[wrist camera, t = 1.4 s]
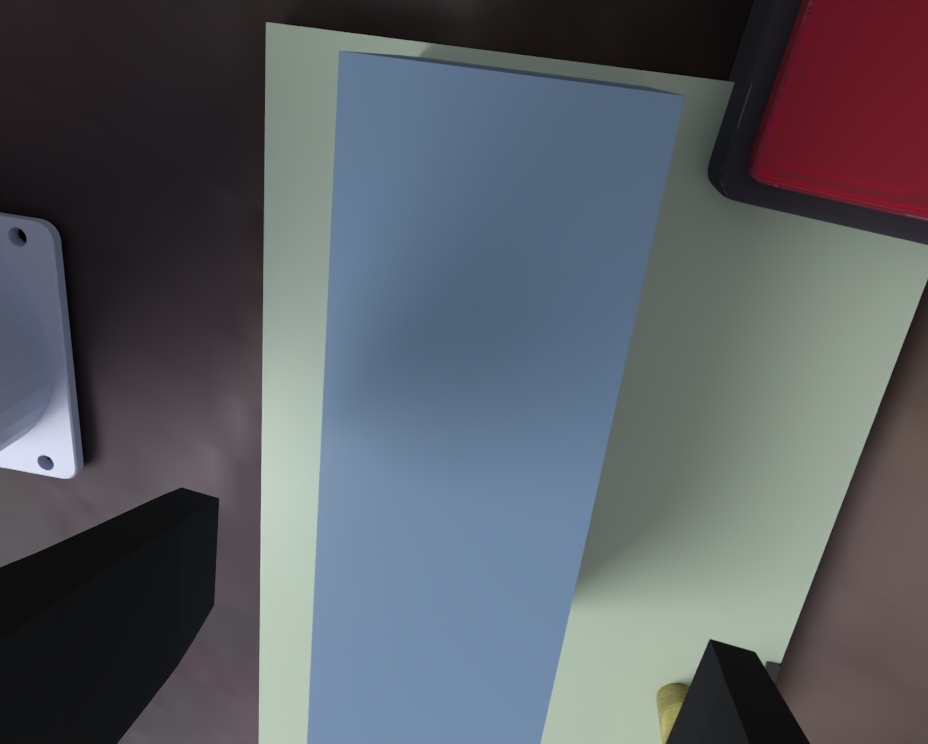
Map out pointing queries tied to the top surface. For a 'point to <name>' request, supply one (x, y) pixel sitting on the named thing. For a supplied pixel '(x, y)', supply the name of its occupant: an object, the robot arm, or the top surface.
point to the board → (636, 414)
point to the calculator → (831, 114)
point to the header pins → (674, 696)
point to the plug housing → (469, 383)
